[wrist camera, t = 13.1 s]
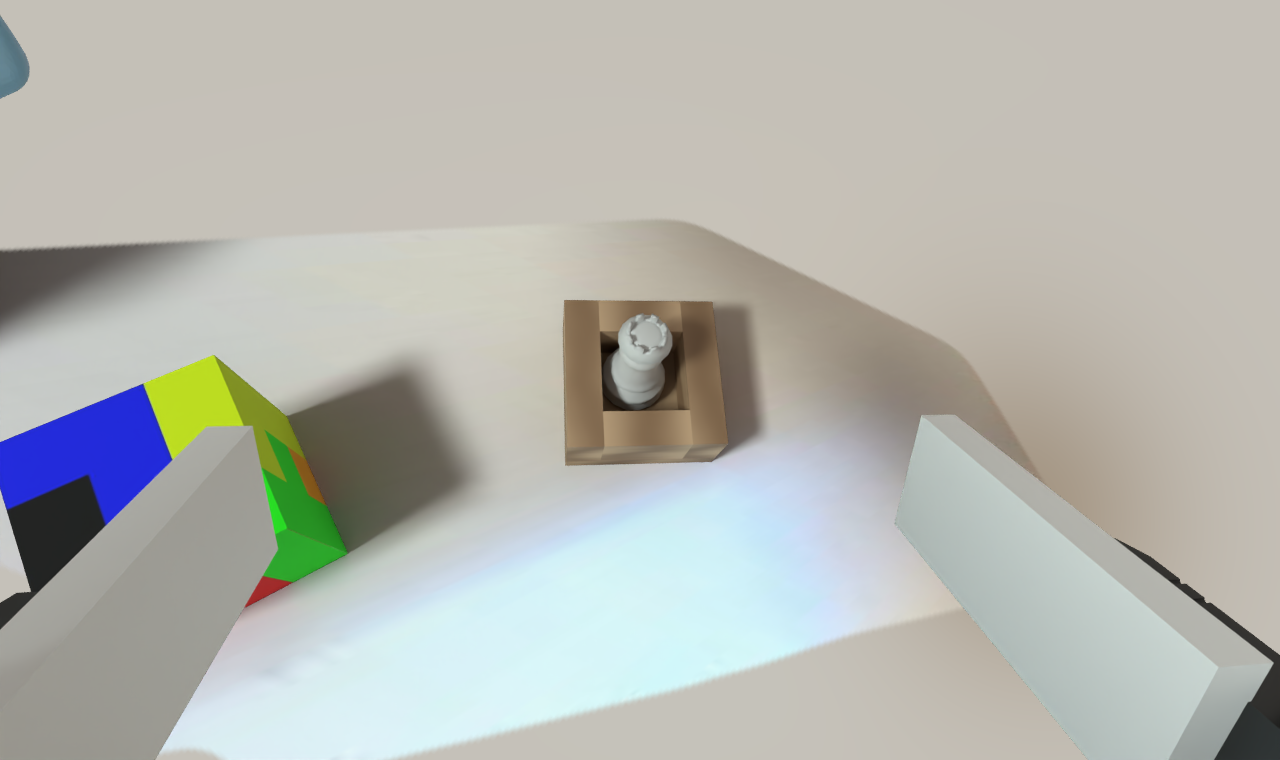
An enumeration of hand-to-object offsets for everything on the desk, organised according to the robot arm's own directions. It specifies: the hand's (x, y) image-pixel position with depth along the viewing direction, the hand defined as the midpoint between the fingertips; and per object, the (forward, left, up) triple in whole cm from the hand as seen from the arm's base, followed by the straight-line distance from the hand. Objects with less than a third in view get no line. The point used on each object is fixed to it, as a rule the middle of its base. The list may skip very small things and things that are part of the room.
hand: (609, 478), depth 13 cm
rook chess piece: (+5, +13, -29) cm, 32 cm away
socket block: (+5, +13, -30) cm, 33 cm away
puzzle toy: (-20, +5, -30) cm, 36 cm away
